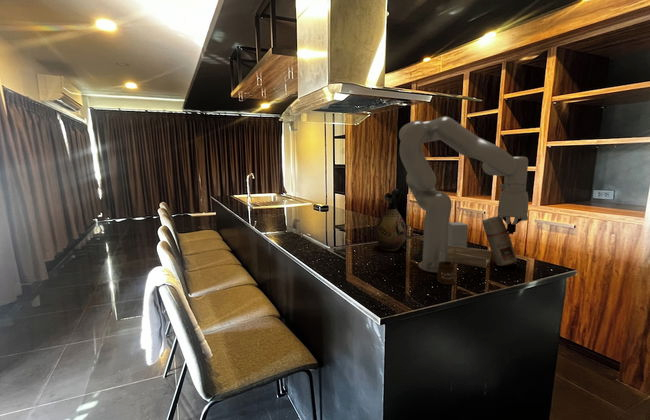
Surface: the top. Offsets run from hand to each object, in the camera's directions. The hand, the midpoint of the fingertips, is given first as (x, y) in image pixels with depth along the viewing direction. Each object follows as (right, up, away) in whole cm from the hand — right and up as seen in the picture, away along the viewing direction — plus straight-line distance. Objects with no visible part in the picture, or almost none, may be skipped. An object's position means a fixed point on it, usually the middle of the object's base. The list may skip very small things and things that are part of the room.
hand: (510, 233), depth 127 cm
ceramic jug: (-42, -10, +32) cm, 54 cm away
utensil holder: (-31, -17, -13) cm, 38 cm away
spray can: (0, -13, +2) cm, 13 cm away
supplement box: (-9, -10, +31) cm, 34 cm away
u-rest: (-15, -12, +13) cm, 23 cm away
